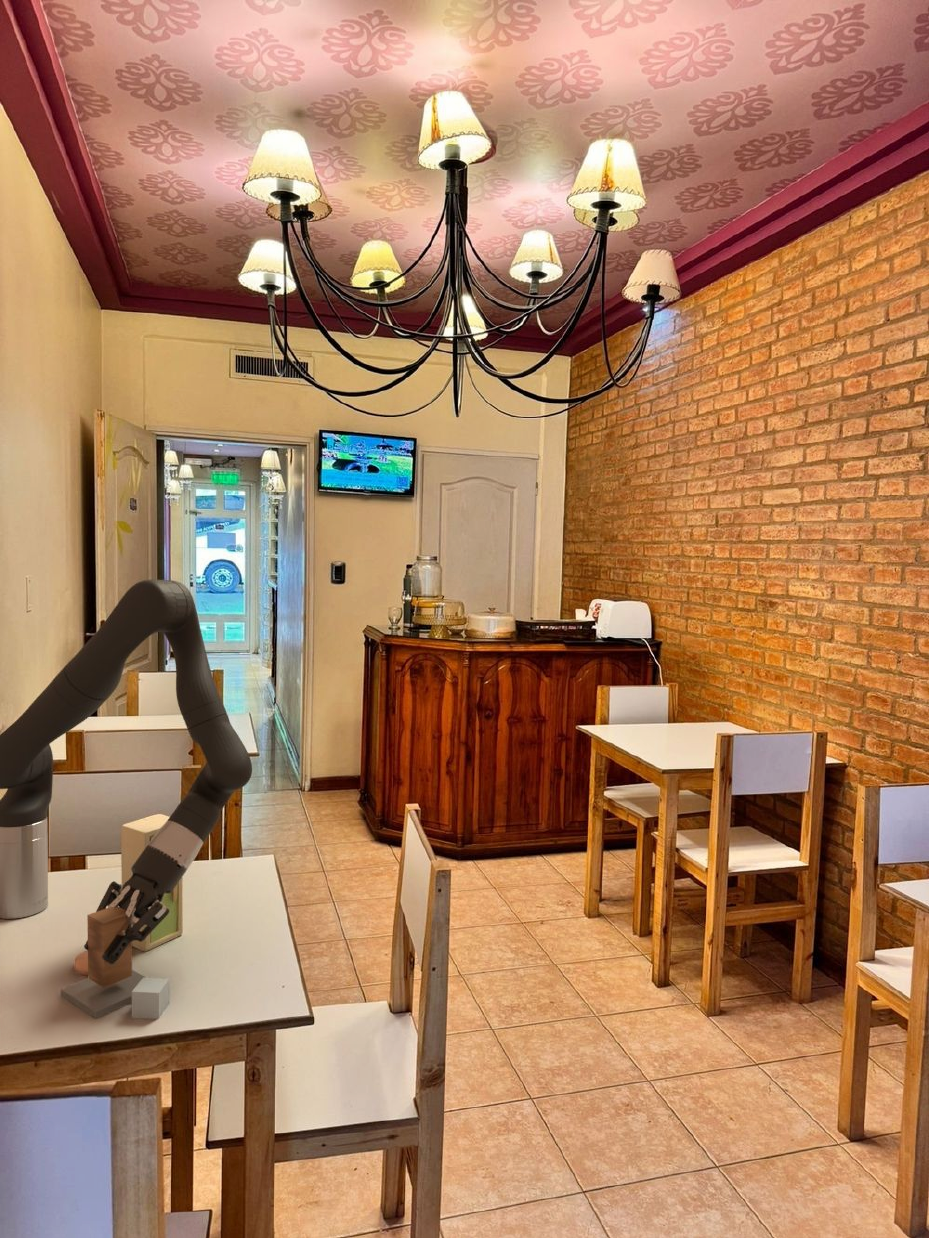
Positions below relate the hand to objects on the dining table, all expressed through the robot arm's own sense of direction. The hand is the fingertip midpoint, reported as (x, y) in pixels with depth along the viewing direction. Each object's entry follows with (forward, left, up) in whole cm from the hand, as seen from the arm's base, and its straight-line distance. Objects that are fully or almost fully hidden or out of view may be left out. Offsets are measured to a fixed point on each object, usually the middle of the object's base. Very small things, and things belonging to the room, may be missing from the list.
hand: (98, 955), depth 122 cm
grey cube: (+10, 0, -7) cm, 12 cm away
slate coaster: (+1, +2, -7) cm, 7 cm away
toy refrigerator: (-4, +19, -7) cm, 20 cm away
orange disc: (-7, +8, -7) cm, 13 cm away
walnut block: (+1, +2, -4) cm, 5 cm away
